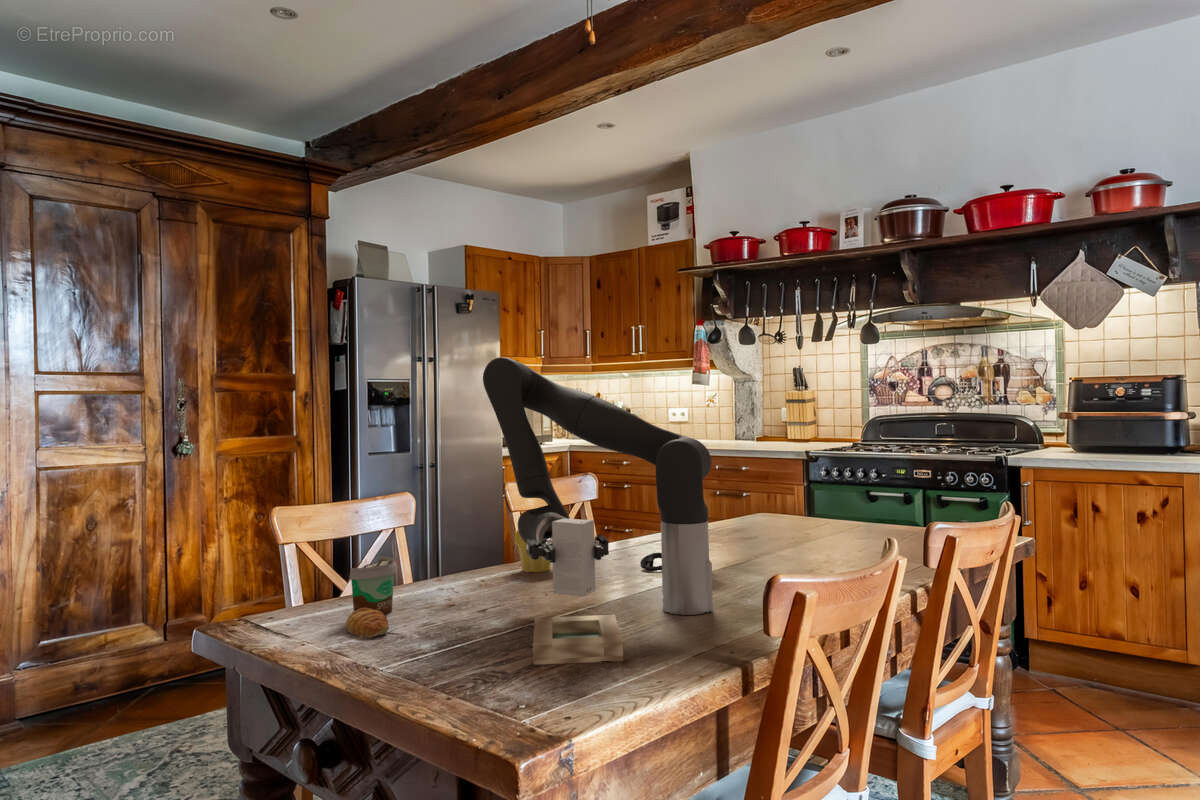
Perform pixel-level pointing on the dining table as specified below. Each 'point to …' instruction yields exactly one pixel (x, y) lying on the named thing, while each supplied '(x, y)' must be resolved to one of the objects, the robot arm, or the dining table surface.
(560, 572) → the skincare box
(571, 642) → the holder
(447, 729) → the dining table surface
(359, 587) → the food container
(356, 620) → the pastry
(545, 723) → the dining table surface
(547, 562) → the plant pot
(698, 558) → the robot arm
